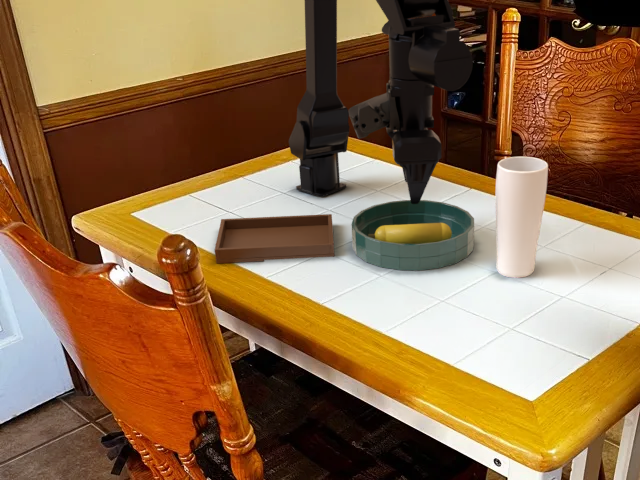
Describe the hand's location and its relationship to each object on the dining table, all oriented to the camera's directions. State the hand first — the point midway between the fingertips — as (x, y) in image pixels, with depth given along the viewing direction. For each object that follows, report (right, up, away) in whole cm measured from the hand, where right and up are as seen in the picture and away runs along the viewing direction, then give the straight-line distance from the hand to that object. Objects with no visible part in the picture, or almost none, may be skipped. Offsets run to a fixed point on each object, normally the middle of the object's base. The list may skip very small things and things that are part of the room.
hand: (411, 192), depth 122 cm
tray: (-21, -6, +6) cm, 22 cm away
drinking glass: (+15, -12, -2) cm, 19 cm away
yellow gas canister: (0, -6, +5) cm, 8 cm away
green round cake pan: (0, -7, +5) cm, 8 cm away
